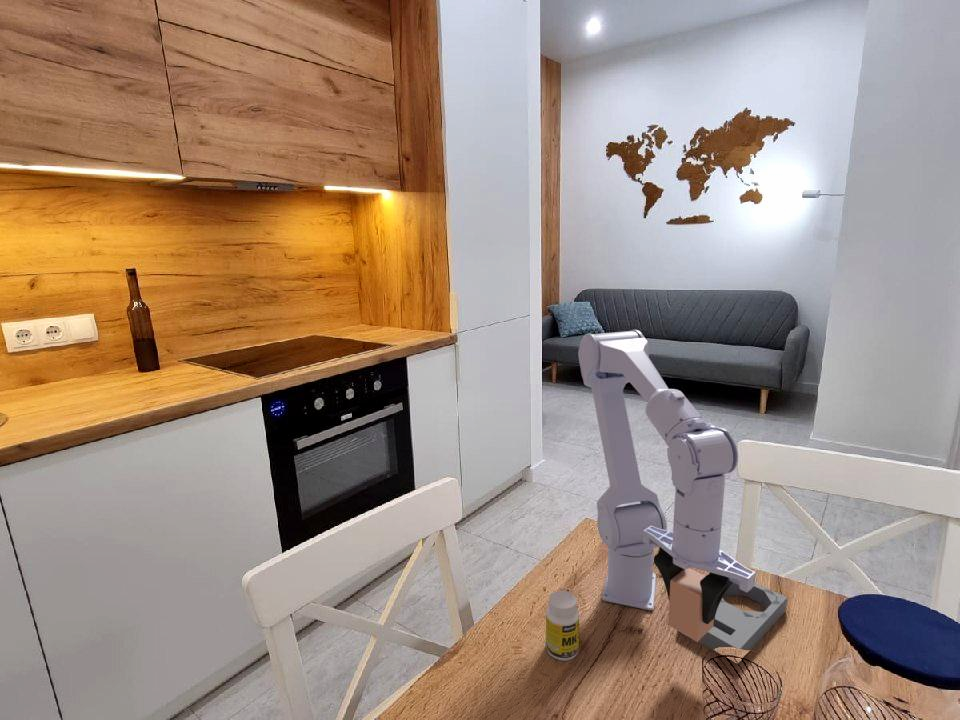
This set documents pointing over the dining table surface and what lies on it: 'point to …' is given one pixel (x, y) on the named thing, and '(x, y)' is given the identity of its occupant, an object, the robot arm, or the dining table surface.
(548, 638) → the supplement bottle
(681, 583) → the peg
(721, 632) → the socket board
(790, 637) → the dining table surface
